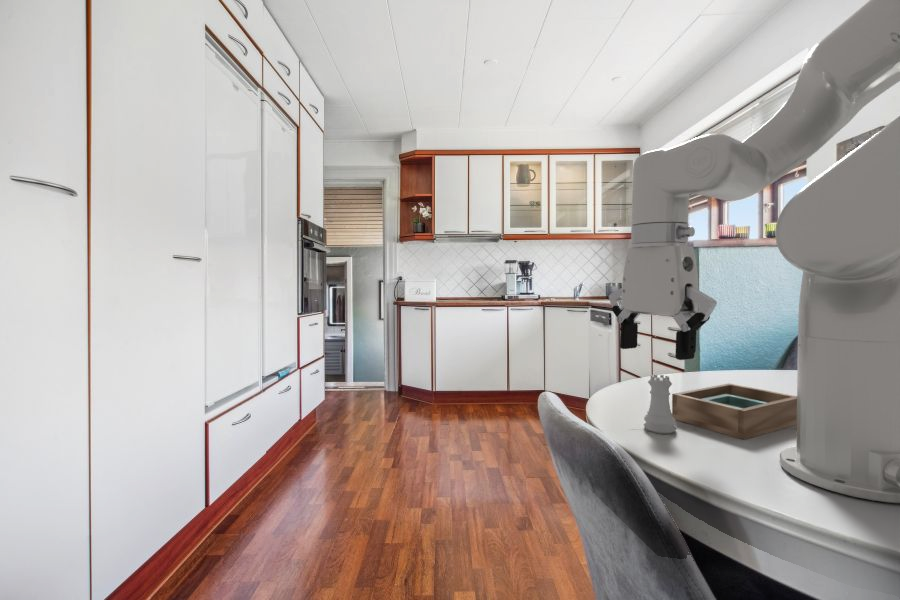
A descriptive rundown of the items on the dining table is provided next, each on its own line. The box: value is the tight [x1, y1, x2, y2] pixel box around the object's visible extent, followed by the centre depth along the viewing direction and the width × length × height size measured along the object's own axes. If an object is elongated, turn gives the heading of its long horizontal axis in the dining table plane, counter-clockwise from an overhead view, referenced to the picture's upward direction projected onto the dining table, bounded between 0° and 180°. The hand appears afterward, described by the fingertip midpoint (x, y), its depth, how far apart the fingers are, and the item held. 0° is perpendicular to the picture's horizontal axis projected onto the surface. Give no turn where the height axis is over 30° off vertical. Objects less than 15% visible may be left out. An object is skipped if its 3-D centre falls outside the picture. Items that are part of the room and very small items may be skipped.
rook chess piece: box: [643, 374, 677, 435], centre depth 65 cm, size 4×4×8 cm
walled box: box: [671, 382, 797, 441], centre depth 69 cm, size 11×15×4 cm
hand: (654, 353), depth 66 cm, fingers open, 9 cm apart
